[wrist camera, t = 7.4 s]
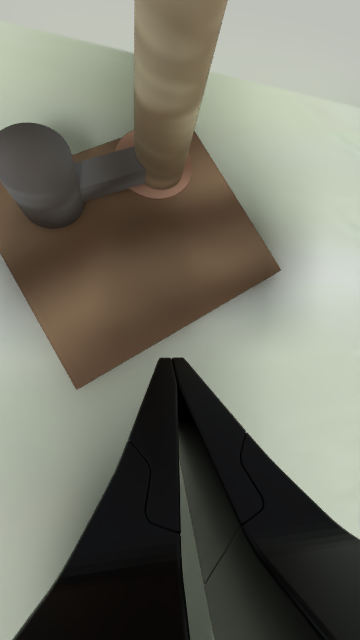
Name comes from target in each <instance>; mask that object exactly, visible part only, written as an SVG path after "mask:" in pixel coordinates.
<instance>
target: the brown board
mask: <svg viewBox="0 0 360 640" xmlns="http://www.w3.org/2000/svg"><path fill="white" fill-rule="evenodd" d="M130 147H134V130H133V131H131V132H129V133H128V134H126V135H125V136H124V137H122V138H120V139H117V140H114V141H111V142H108V143H105V144H103V145H100V146H97V147H94V148H91V149H89V150H86V151H83V152H80V153H77V154H75V155H72V158H73V162H74V163H75V162H79V161H82V160H86V159H90V158H93V157H97V156H101V155H104V154H108V153H112V152H115V151H119V150H123V149H126V148H130ZM0 253H1V255H2V257H3V259H4V261H5V262H6V264H7V266H8V268H9V270H10V271H11V273H12V275H13V277H14V279H15V280H16V282H17V284H18V286H19V288H20V289H21V291H22V293H23V295H24V297H25V298H26V300H27V302H28V304H29V306H30V307H31V309H32V311H33V313H34V315H35V316H36V318H37V320H38V322H39V324H40V325H41V327H42V329H43V331H44V332H45V334H46V336H47V338H48V340H49V341H50V343H51V345H52V347H53V349H54V350H55V352H56V354H57V356H58V358H59V359H60V361H61V363H62V365H63V367H64V368H65V370H66V372H67V374H68V376H69V377H70V379H71V381H72V383H73V385H74V386H75V388H76V390H77V389H79V388H81V387H82V386H84V385H86V384H87V383H89V382H91V381H93V380H94V379H96V378H98V377H99V376H101V375H103V374H105V373H106V372H108V371H110V370H111V369H113V368H115V367H117V366H118V365H120V364H122V363H123V362H125V361H127V360H129V359H130V358H132V357H134V356H135V355H137V354H139V353H141V352H142V351H144V350H146V349H147V348H149V347H151V346H152V345H154V344H156V343H158V342H159V341H161V340H163V339H164V338H166V337H168V336H170V335H171V334H173V333H175V332H176V331H178V330H180V329H182V328H183V327H185V326H187V325H188V324H190V323H192V322H194V321H195V320H197V319H199V318H200V317H202V316H204V315H206V314H207V313H209V312H211V311H212V310H214V309H216V308H218V307H219V306H221V305H223V304H224V303H226V302H228V301H229V300H231V299H233V298H235V297H236V296H238V295H240V294H241V293H243V292H245V291H247V290H248V289H250V288H252V287H253V286H255V285H257V284H259V283H260V282H262V281H264V280H265V279H267V278H269V277H271V276H272V275H274V274H276V273H277V272H279V271H280V270H281V269H280V267H279V266H278V264H277V262H276V261H275V259H274V258H273V256H272V254H271V253H270V251H269V250H268V248H267V246H266V245H265V243H264V242H263V240H262V238H261V237H260V235H259V234H258V232H257V230H256V229H255V227H254V226H253V224H252V222H251V221H250V219H249V218H248V216H247V214H246V213H245V211H244V210H243V208H242V206H241V205H240V203H239V202H238V200H237V198H236V197H235V195H234V194H233V192H232V190H231V189H230V187H229V186H228V184H227V182H226V181H225V179H224V178H223V176H222V174H221V173H220V171H219V170H218V168H217V166H216V165H215V163H214V161H213V160H212V158H211V157H210V155H209V153H208V152H207V150H206V149H205V147H204V145H203V144H202V142H201V141H200V139H199V137H198V136H197V134H196V133H195V131H194V132H193V136H192V140H191V144H190V148H189V152H188V156H187V159H186V163H185V167H184V171H183V175H182V178H181V180H180V181H179V183H178V184H177V185H175V186H174V187H172V188H170V189H165V190H158V189H154V188H151V187H149V186H147V185H145V184H144V183H143V184H140V185H137V186H134V187H131V188H127V189H124V190H121V191H118V192H115V193H111V194H108V195H105V196H102V197H98V198H95V199H92V200H89V201H86V202H85V203H84V209H83V212H82V214H81V215H80V217H79V218H78V219H77V220H76V221H75V222H74V223H72V224H70V225H69V226H66V227H63V228H57V229H50V228H44V227H41V226H38V225H36V224H35V223H33V222H31V221H30V220H29V219H28V218H27V217H26V216H25V214H24V213H23V212H22V210H21V209H20V207H19V206H18V205H17V203H16V202H15V201H14V199H13V198H12V196H11V195H10V194H9V192H8V191H7V190H6V188H5V187H4V186H3V184H2V183H1V181H0Z"/></svg>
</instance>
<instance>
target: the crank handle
mask: <svg viewBox="0 0 360 640" xmlns="http://www.w3.org/2000/svg"><path fill="white" fill-rule="evenodd" d="M227 1H228V0H135V33H134V35H135V40H134V42H135V44H134V45H135V46H134V47H135V50H134V147H130V148H126V149H123V150H119V151H115V152H112V153H108V154H104V155H101V156H97V157H93V158H90V159H86V160H82V161H79V162H75V163H74V162H73V158H72V155H71V152H70V149H69V146H68V145H67V143H66V141H65V140H64V139H63V138H62V137H61V136H60V135H59V134H58V133H57V132H56V131H54V130H52V129H51V128H49V127H46V126H44V125H40V124H36V123H18V124H14V125H11V126H8V127H6V128H4V129H3V130H1V131H0V181H1V183H2V184H3V186H4V187H5V188H6V190H7V191H8V192H9V194H10V195H11V196H12V198H13V199H14V201H15V202H16V203H17V205H18V206H19V207H20V209H21V210H22V212H23V213H24V214H25V216H26V217H27V218H28V219H29V220H30V221H31V222H33V223H35V224H36V225H38V226H41V227H44V228H50V229H57V228H63V227H66V226H69V225H70V224H72V223H74V222H75V221H76V220H77V219H78V218H79V217H80V215H81V214H82V212H83V209H84V203H85V202H86V201H89V200H92V199H95V198H98V197H102V196H105V195H108V194H111V193H115V192H118V191H121V190H124V189H127V188H131V187H134V186H137V185H140V184H143V183H144V184H145V185H147V186H149V187H151V188H154V189H158V190H165V189H170V188H172V187H174V186H175V185H177V184H178V183H179V181H180V180H181V178H182V175H183V171H184V167H185V163H186V159H187V156H188V152H189V148H190V144H191V140H192V136H193V132H194V129H195V125H196V121H197V117H198V113H199V109H200V105H201V101H202V98H203V94H204V90H205V86H206V82H207V78H208V74H209V70H210V66H211V63H212V59H213V55H214V51H215V47H216V43H217V39H218V35H219V32H220V28H221V24H222V20H223V16H224V12H225V9H226V5H227Z"/></svg>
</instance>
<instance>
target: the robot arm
mask: <svg viewBox="0 0 360 640" xmlns="http://www.w3.org/2000/svg"><path fill="white" fill-rule="evenodd" d="M179 460H180V465H181V470H182V475H183V480H184V485H185V490H186V495H187V500H188V506H189V511H190V516H191V521H192V526H193V531H194V536H195V541H196V546H197V551H198V557H199V562H200V567H201V572H202V577H203V582H204V584H205V586H204V588H205V593H206V598H207V603H208V608H209V613H210V618H211V623H212V628H213V634H214V639H215V640H360V539H358V538H356V537H355V536H353V535H352V534H350V533H349V532H348V531H346V530H345V529H343V528H342V527H341V526H340V525H338V524H337V523H336V522H335V521H334V520H333V519H331V518H330V517H329V516H328V515H327V514H326V513H325V512H324V511H323V510H322V509H321V508H320V507H319V506H318V505H317V504H316V503H315V502H314V501H313V500H312V499H311V498H310V497H309V496H308V495H307V494H306V493H304V492H303V491H302V490H301V489H300V488H299V487H298V486H297V485H296V484H295V483H294V482H293V481H292V480H291V479H290V478H289V477H288V476H287V475H286V474H285V473H284V472H283V471H282V470H281V469H280V468H279V467H278V466H277V465H276V464H275V463H274V462H273V461H272V460H271V459H270V458H269V457H268V455H267V454H266V453H265V452H264V451H263V450H262V449H261V448H260V447H259V445H258V444H257V443H256V442H255V441H254V440H253V439H252V437H251V436H250V435H249V434H248V433H246V430H245V429H244V428H243V427H242V426H241V425H240V423H239V422H238V421H237V420H236V419H235V418H234V416H233V415H232V414H231V413H230V412H229V410H228V409H227V408H226V407H225V406H224V405H223V403H222V402H221V401H220V400H219V399H218V398H217V396H216V395H215V394H214V393H213V392H212V391H211V389H210V388H209V387H208V386H207V385H206V384H205V382H204V381H203V380H202V379H201V378H200V376H199V375H198V374H197V373H196V372H195V371H194V369H193V368H192V367H191V366H190V365H189V364H188V362H187V361H186V360H185V359H184V358H172V359H171V358H160V359H159V360H158V363H157V365H156V368H155V371H154V373H153V376H152V378H151V381H150V384H149V386H148V389H147V391H146V394H145V397H144V399H143V402H142V404H141V407H140V410H139V412H138V415H137V417H136V420H135V423H134V425H133V428H132V430H131V433H130V436H129V438H128V441H127V443H126V446H125V448H124V451H123V453H122V456H121V458H120V460H119V463H118V465H117V467H116V470H115V472H114V474H113V476H112V478H111V480H110V482H109V484H108V486H107V488H106V490H105V492H104V494H103V496H102V498H101V500H100V502H99V504H98V506H97V507H96V509H95V511H94V513H93V515H92V517H91V519H90V521H89V522H88V524H87V526H86V528H85V530H84V532H83V534H82V536H81V537H80V539H79V541H78V543H77V545H76V547H75V549H74V550H73V552H72V554H71V556H70V557H69V559H68V561H67V563H66V564H65V566H64V568H63V569H62V571H61V573H60V574H59V576H58V577H57V579H56V581H55V582H54V584H53V585H52V587H51V588H50V590H49V591H48V592H47V594H46V595H45V596H44V598H43V599H42V600H41V602H40V603H39V604H38V606H37V607H36V608H35V610H34V611H33V613H32V614H31V615H30V617H29V618H28V619H27V621H26V622H25V623H24V625H23V626H22V627H21V629H20V630H19V631H18V633H17V634H16V635H15V637H14V638H13V639H12V640H190V635H189V626H188V617H187V608H186V599H185V590H184V581H183V572H182V557H181V536H180V533H181V523H180V477H179Z"/></svg>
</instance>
